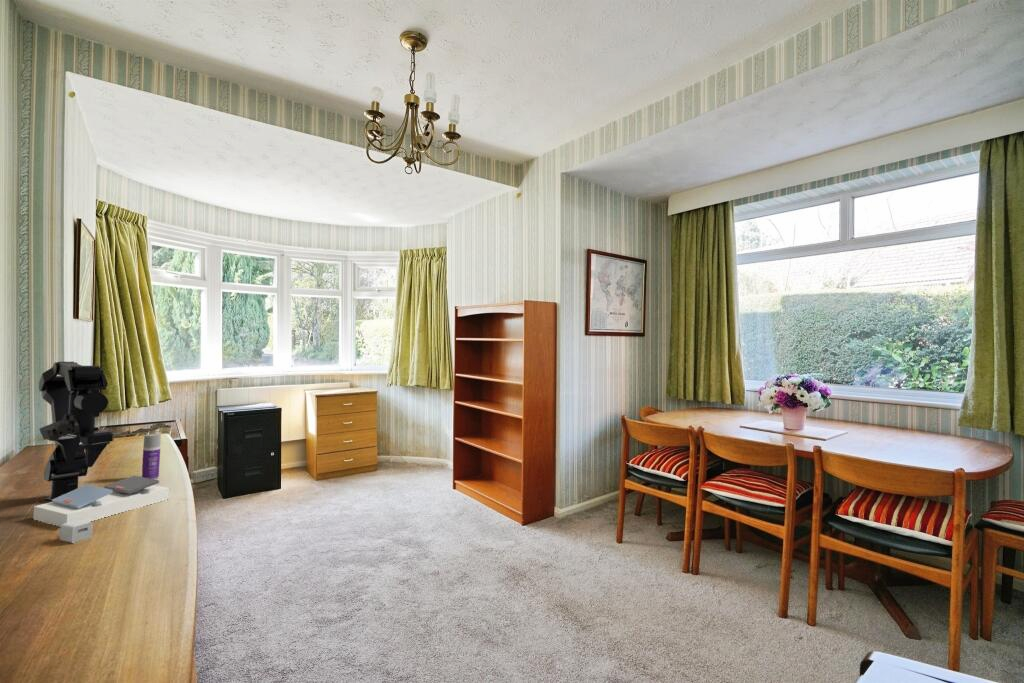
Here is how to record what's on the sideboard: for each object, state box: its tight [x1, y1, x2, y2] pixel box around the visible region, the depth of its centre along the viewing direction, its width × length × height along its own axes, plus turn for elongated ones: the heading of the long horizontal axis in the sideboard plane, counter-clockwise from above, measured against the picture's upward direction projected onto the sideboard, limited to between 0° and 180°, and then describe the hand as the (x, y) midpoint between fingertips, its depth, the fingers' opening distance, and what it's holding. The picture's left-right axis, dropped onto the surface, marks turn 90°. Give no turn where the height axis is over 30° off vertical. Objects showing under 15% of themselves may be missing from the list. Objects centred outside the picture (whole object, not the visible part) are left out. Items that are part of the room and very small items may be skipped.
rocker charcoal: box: [103, 475, 160, 494], centre depth 138 cm, size 11×8×2 cm
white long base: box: [32, 484, 170, 528], centre depth 132 cm, size 14×25×4 cm, turn 160°
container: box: [141, 433, 161, 480], centre depth 161 cm, size 5×5×15 cm
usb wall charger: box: [57, 520, 94, 544], centre depth 112 cm, size 4×7×4 cm, turn 73°
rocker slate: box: [51, 484, 113, 509], centre depth 126 cm, size 11×8×2 cm
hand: (79, 465), depth 132 cm, fingers open, 9 cm apart
